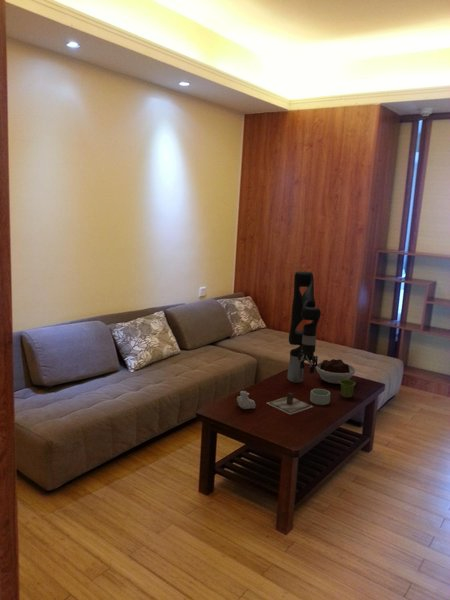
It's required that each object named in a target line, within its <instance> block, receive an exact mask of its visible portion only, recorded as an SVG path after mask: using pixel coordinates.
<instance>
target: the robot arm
mask: <svg viewBox="0 0 450 600" xmlns="http://www.w3.org/2000/svg"><path fill="white" fill-rule="evenodd" d="M293 279H294V280H293V298H292V305H291V306H292V307H291V317H290V318H291V319H290V320H291V321H290V326H289V333H288V343H289V345H292V346H298V347H295V348H292V349H291V350H290V351H289V363H288V366H287V378H286V379H287V380H288V381H289V383H290V382H291V383H295V384H297V383H302V382H303V380H304V369H305V362H307V363H308V364H309V366H310V367H309V374H314V372H315V368H316V366H317V364H318V358H319V357H318V355H315V354H314V353H315V352H316V346H317V337H316V336H317V328H318V323H319V320H320V319H321V316H322V315H321V314H322V312H321V310H320V308H319V307H316V299H315V296H314V295H315V282H314V281H315V279H314V274H313V272H311V271H302V270H300V271H299V270H298V271H296V272H295V273H294V278H293ZM300 288H306V290H305V291H304V292H303V293H301V289H300ZM303 320H304V321H311V322H310V323H309V322H308V323H306V324H305V323H304V325H303V327H302V329H303V330H297V327H298V326H299V325H300V324H301V323H302V322H303Z"/></svg>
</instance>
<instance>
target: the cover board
mask: <svg viewBox="0 0 450 600" xmlns="http://www.w3.org/2000/svg"><path fill="white" fill-rule="evenodd" d="M269 402H270V404H272V405H274V406H276V407H278V408H281V409H283V410H285V411H287V412H289V413H292V412H295V411H298V410H301V409H304V408H307V407H310V405H311V404H309V403H306V402H304V401H302V400H299V399H297V398H295V397H294V393H292V392H287V394H286V396H285V398H284V397H281V398H278V399H275V401H274V400H272V401H269Z"/></svg>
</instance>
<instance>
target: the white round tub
mask: <svg viewBox="0 0 450 600" xmlns="http://www.w3.org/2000/svg"><path fill="white" fill-rule="evenodd" d="M315 369H316V371H317V373H318V374H319V376H320V379H321V380H323V381H324V382H326V383H329V384H333V385H334V384H337V385H338V384H339V385H340V381H341V380H350V379H351V378H352V377H353V376H354V374H355V373H356V369H355V367H354V366H352V365H350V364H349V363H346V362H344V360H343V359H341V358H339V359H335V358H332V359H330V360H328V359H325V360H322V361H321V362H317V366H316V367H315Z"/></svg>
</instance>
